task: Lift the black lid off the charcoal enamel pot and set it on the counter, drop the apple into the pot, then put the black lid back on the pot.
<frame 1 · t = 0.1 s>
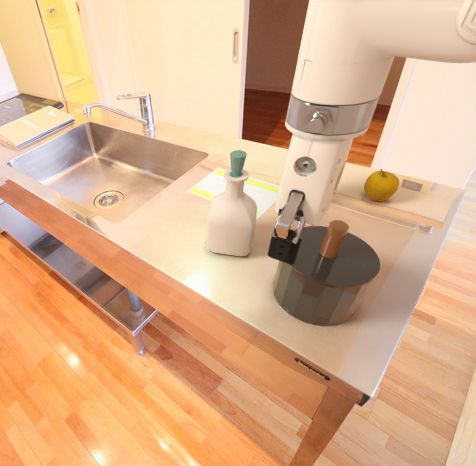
hand: (293, 237, 43), 21 cm above the counter, tool pointing down, fingers open, 9 cm apart
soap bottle: (228, 244, 73), on the counter
lid: (327, 255, 53), point 10 cm above the counter, touching pot
cup: (301, 203, 81), on the counter
apple: (374, 200, 78), on the counter
pot: (311, 295, 60), on the counter
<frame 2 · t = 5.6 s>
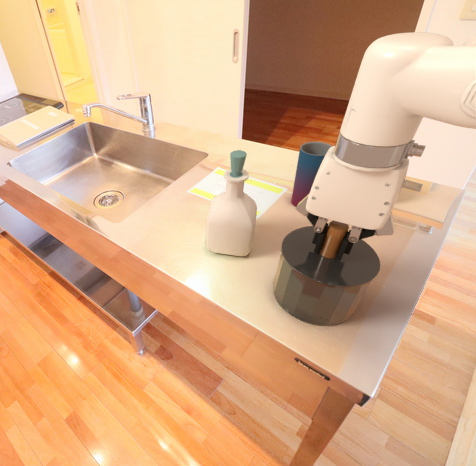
hand: (329, 250, 52), 12 cm above the counter, tool pointing down, fingers closed on lid, 2 cm apart
lid: (327, 255, 53), point 11 cm above the counter, touching gripper, pot
everything else where it was.
when the fingers open (2 cm above the counter, at t = 13.8 s): lid stays where it is, point 1 cm above the counter.
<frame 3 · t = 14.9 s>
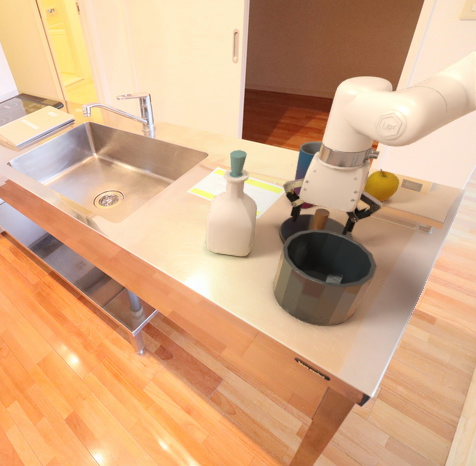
hand: (319, 225, 69), 4 cm above the counter, tool pointing down, fingers open, 9 cm apart
lid: (314, 235, 71), point 1 cm above the counter
everything else where it was.
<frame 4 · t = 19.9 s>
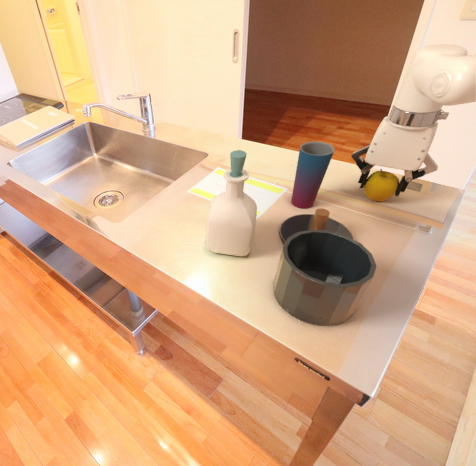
hand: (379, 188, 76), 3 cm above the counter, tool pointing down, fingers closed on apple, 6 cm apart
apple: (374, 200, 78), on the counter, touching gripper
everything else where it was.
when the fingers open (11 cm above the counter, at t = 28.7 s): apple drops 7 cm, resting on pot.
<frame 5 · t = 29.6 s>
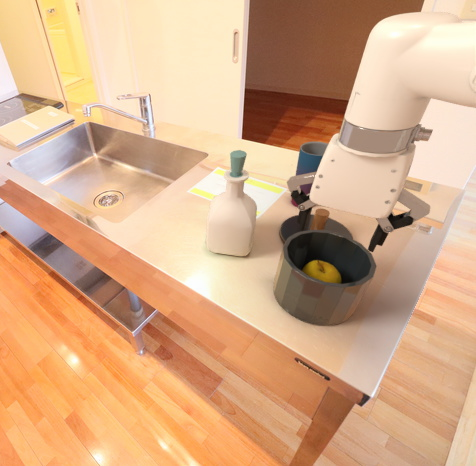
hand: (335, 235, 51), 15 cm above the counter, tool pointing down, fingers open, 9 cm apart
apple: (313, 294, 60), resting on pot
everything else where it was.
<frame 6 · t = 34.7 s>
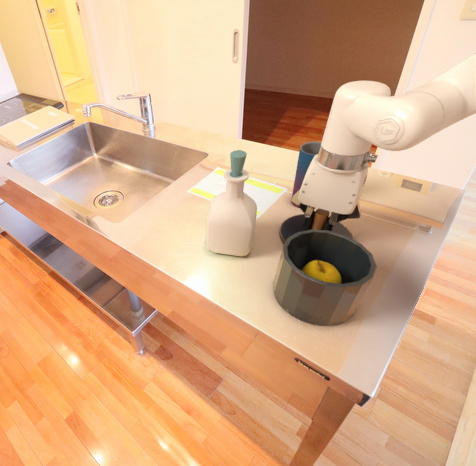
hand: (316, 231, 70), 2 cm above the counter, tool pointing down, fingers closed on lid, 2 cm apart
lid: (314, 235, 71), point 1 cm above the counter, touching gripper
everything else where it was.
when the fingers open (12 cm above the counter, at t = 43.0 s): lid stays where it is, resting on pot.
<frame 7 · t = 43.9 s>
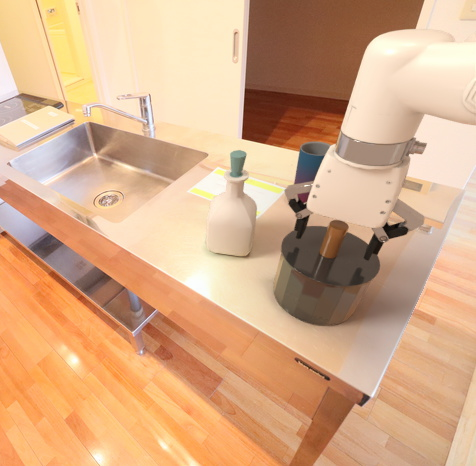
hand: (332, 243, 51), 13 cm above the counter, tool pointing down, fingers open, 9 cm apart
lid: (327, 255, 53), point 10 cm above the counter, touching pot
everything else where it was.
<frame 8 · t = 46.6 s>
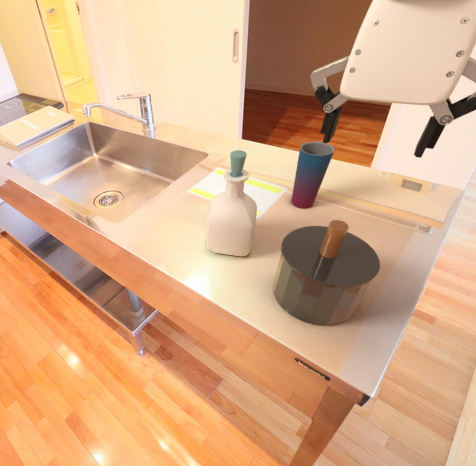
hand: (370, 145, 41), 30 cm above the counter, tool pointing down, fingers open, 9 cm apart
nothing on the counter moved.
at the end: apple inside the target area in the pot (0.2 cm from its centre), point 0.3 cm above the pot's base; lid 0.0 cm off-centre on the pot, point 10.5 cm above the pot's base; lid tilted 0° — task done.
